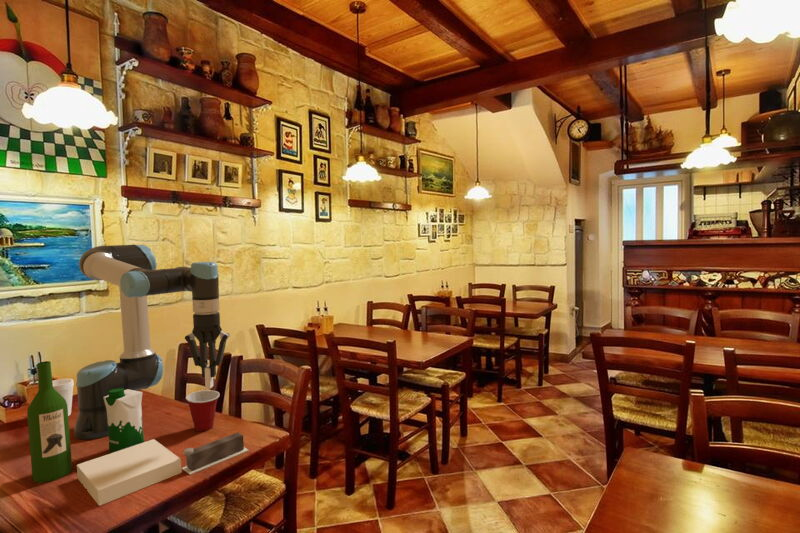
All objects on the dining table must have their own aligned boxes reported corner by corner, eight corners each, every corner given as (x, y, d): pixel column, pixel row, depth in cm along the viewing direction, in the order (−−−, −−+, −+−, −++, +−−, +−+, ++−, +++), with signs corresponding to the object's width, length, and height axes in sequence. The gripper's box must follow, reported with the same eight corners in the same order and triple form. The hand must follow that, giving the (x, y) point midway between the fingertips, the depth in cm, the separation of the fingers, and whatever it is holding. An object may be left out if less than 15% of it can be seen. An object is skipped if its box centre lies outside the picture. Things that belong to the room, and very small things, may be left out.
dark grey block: (187, 472, 125) (186, 453, 124) (182, 468, 127) (181, 450, 126) (243, 449, 138) (242, 431, 137) (238, 446, 140) (237, 429, 139)
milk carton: (104, 453, 138) (99, 390, 137) (132, 440, 147) (128, 381, 145) (122, 458, 135) (117, 394, 133) (150, 445, 143) (145, 384, 142)
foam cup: (49, 413, 172) (46, 381, 171) (78, 409, 176) (75, 377, 175) (41, 422, 164) (38, 388, 163) (72, 417, 168) (69, 384, 167)
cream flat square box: (77, 478, 124) (76, 464, 124) (154, 451, 139) (153, 439, 139) (99, 505, 111) (98, 490, 110) (181, 472, 126) (180, 459, 125)
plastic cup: (209, 436, 149) (207, 401, 148) (180, 433, 151) (178, 399, 150) (227, 422, 159) (226, 389, 159) (201, 420, 162) (199, 388, 161)
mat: (182, 468, 128) (182, 467, 128) (240, 445, 141) (240, 444, 141) (190, 474, 124) (189, 473, 124) (248, 450, 138) (248, 449, 138)
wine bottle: (40, 486, 120) (30, 368, 118) (27, 477, 125) (17, 364, 123) (78, 471, 128) (69, 360, 126) (64, 463, 133) (55, 356, 130)
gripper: (179, 315, 132) (182, 392, 134) (224, 314, 133) (227, 390, 135) (189, 310, 139) (192, 383, 141) (231, 309, 140) (234, 382, 142)
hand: (209, 387), depth 138 cm, fingers closed
